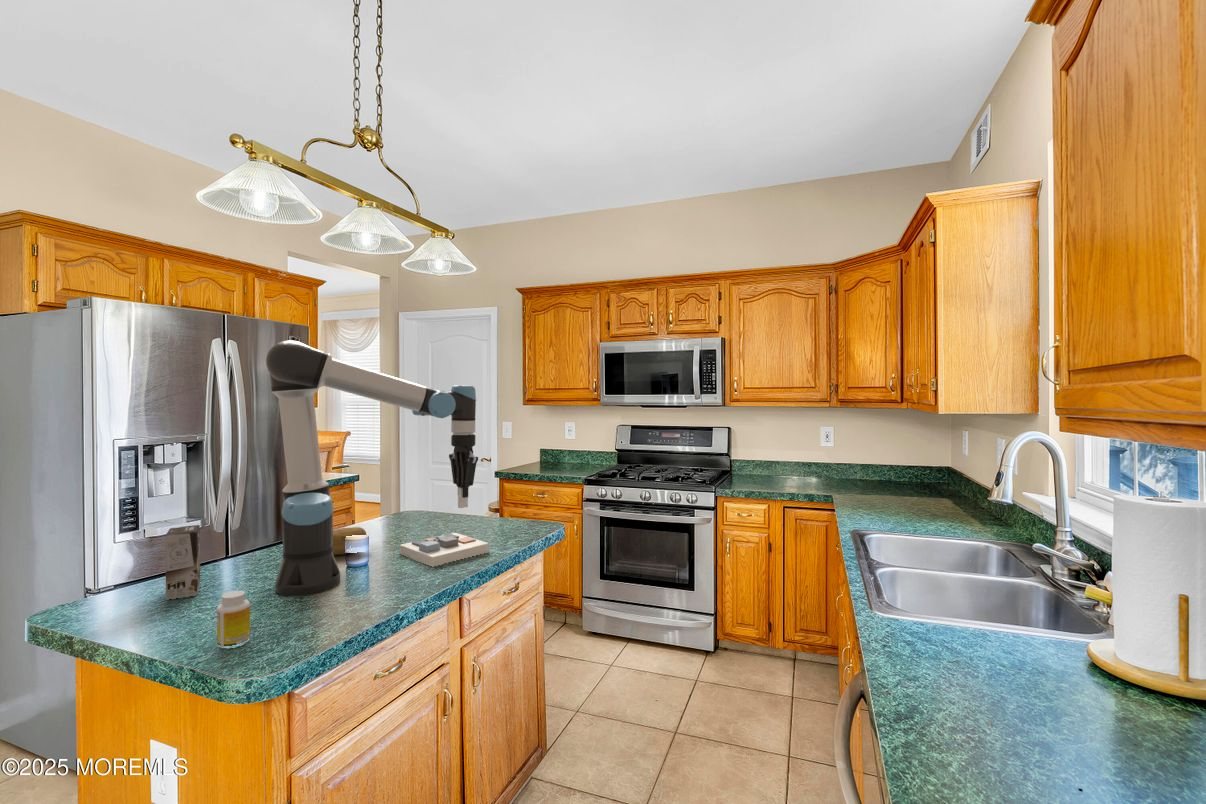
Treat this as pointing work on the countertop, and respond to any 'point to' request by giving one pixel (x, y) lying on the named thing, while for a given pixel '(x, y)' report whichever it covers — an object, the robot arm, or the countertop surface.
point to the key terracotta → (466, 540)
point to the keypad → (444, 550)
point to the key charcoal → (448, 542)
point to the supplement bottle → (233, 619)
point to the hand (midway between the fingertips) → (462, 507)
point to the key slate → (429, 546)
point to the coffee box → (182, 562)
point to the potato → (340, 537)
